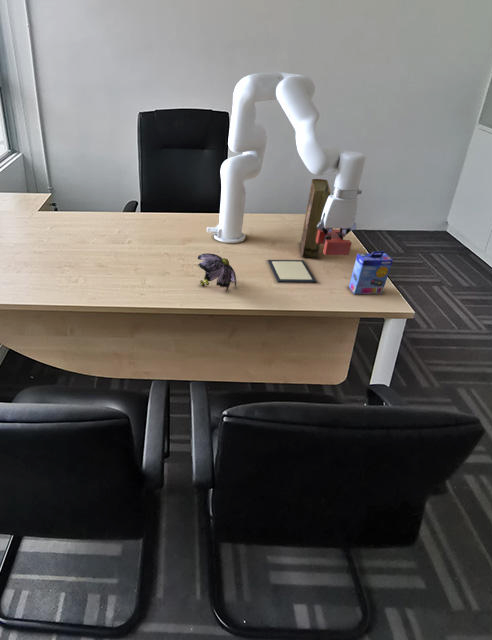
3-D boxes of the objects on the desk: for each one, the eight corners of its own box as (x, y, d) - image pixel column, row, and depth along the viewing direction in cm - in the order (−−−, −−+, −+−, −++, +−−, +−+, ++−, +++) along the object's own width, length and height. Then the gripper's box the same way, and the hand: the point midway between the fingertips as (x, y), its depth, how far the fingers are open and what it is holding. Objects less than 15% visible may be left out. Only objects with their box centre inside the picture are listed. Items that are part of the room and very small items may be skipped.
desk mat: (277, 282, 165) (278, 281, 165) (268, 260, 180) (268, 259, 180) (316, 282, 166) (316, 281, 165) (303, 261, 180) (303, 259, 180)
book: (300, 242, 196) (311, 178, 182) (314, 243, 195) (327, 179, 181) (301, 258, 183) (314, 190, 169) (317, 259, 182) (331, 191, 168)
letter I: (324, 255, 163) (327, 242, 161) (315, 241, 173) (318, 229, 171) (348, 255, 164) (351, 242, 161) (337, 241, 173) (340, 229, 171)
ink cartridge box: (354, 295, 158) (365, 253, 150) (347, 287, 163) (357, 246, 155) (383, 294, 159) (396, 252, 151) (376, 286, 163) (387, 245, 155)
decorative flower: (238, 271, 150) (196, 248, 153) (221, 303, 155) (181, 281, 158) (249, 265, 162) (210, 245, 166) (233, 296, 167) (196, 275, 171)
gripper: (365, 190, 161) (351, 242, 171) (316, 189, 161) (305, 242, 171) (373, 197, 155) (359, 251, 165) (322, 196, 155) (311, 250, 165)
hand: (332, 246), depth 168 cm, fingers closed on letter I, 3 cm apart
